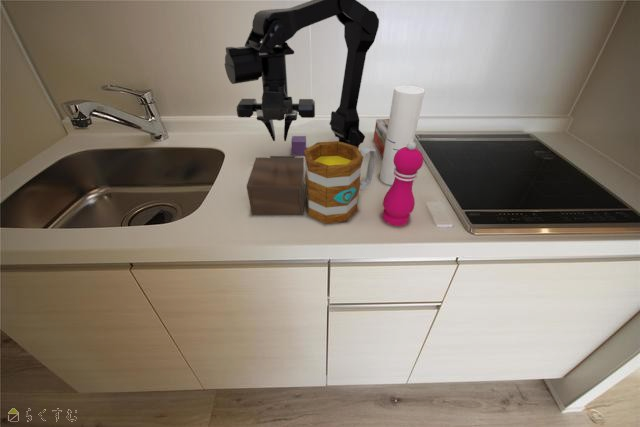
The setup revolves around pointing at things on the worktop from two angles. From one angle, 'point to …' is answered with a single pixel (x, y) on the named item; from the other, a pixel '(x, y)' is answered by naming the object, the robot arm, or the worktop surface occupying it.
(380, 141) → the medicine box
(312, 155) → the mug
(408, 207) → the pepper mill
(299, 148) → the block
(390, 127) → the cylindrical container
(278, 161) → the cabinet
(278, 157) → the drawer
